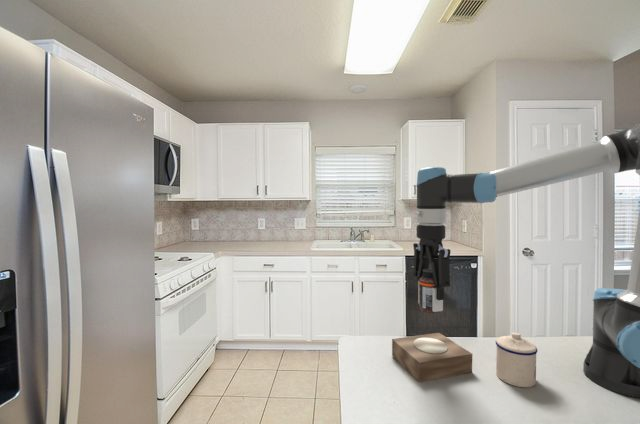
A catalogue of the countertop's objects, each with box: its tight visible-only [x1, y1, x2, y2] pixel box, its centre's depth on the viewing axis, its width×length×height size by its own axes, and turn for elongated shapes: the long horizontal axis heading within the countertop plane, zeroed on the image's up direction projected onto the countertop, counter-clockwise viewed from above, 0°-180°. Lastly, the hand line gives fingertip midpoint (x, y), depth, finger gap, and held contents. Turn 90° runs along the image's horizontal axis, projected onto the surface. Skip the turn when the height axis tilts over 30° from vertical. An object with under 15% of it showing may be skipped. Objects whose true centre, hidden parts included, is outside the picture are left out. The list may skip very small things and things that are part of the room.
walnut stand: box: [391, 332, 473, 383], centre depth 88 cm, size 14×16×5 cm
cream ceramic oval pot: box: [495, 332, 538, 388], centre depth 82 cm, size 12×9×12 cm
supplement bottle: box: [418, 268, 442, 314], centre depth 87 cm, size 6×6×11 cm
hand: (430, 306), depth 88 cm, fingers closed on supplement bottle, 6 cm apart
